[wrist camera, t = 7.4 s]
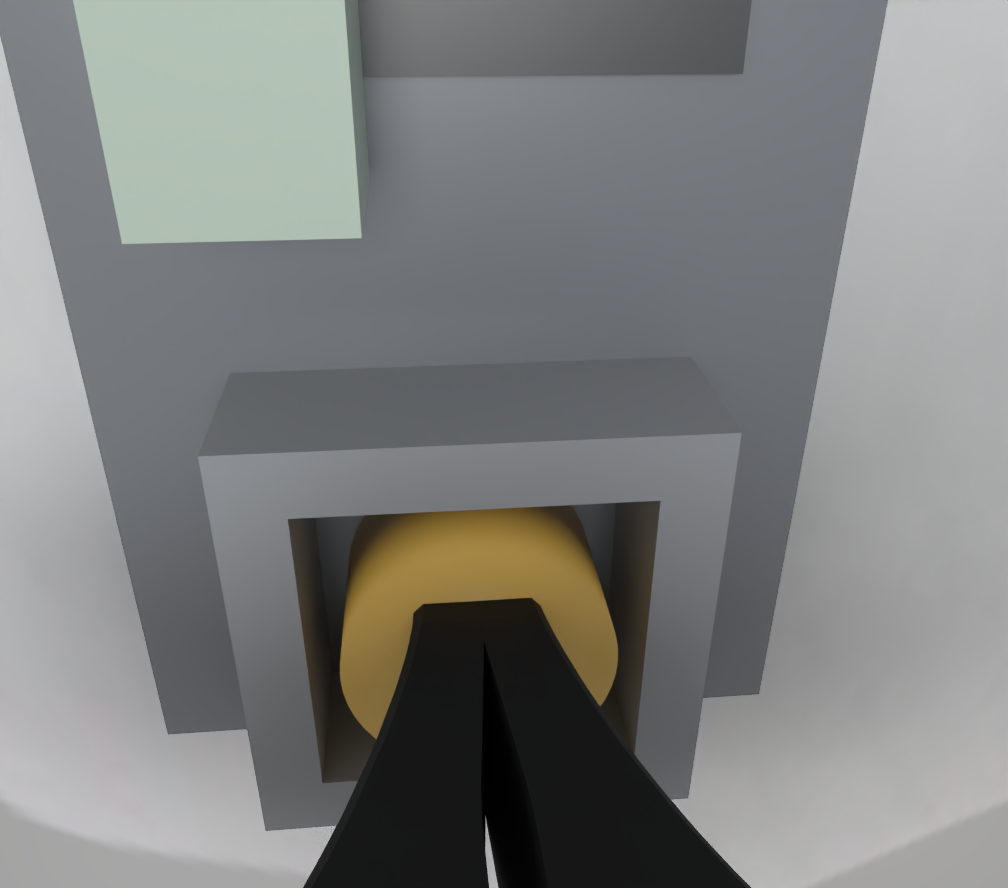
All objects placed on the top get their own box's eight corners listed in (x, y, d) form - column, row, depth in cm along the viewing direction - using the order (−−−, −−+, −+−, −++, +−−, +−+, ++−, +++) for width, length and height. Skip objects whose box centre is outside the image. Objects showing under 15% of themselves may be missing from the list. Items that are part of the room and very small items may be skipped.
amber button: (339, 468, 11) (327, 563, 10) (593, 456, 12) (627, 548, 10) (357, 663, 13) (350, 777, 11) (582, 650, 13) (609, 758, 12)
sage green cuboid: (124, -133, 8) (43, -151, 6) (349, -130, 8) (332, -149, 7) (178, 181, 10) (121, 244, 8) (370, 177, 10) (360, 238, 8)
